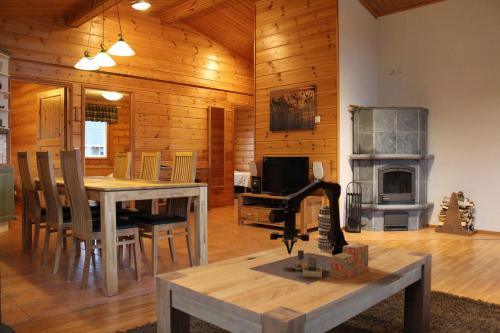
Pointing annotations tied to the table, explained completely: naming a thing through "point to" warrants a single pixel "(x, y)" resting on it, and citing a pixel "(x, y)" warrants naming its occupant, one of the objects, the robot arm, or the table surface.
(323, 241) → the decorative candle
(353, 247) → the stack of blocks
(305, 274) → the tray
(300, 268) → the crank base
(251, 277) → the table surface
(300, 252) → the crank
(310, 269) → the dark metal cylinder
